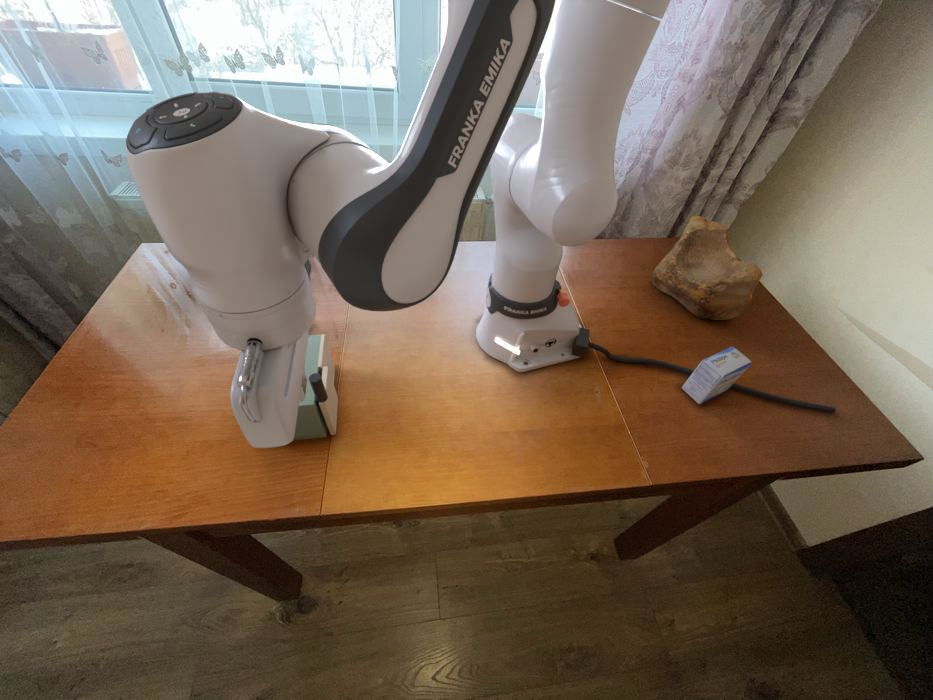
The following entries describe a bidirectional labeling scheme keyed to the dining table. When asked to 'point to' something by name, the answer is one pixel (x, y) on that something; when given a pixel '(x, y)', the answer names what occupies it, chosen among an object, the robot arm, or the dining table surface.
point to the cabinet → (309, 409)
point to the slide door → (326, 397)
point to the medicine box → (716, 374)
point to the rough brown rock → (707, 272)
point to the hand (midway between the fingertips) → (298, 391)
